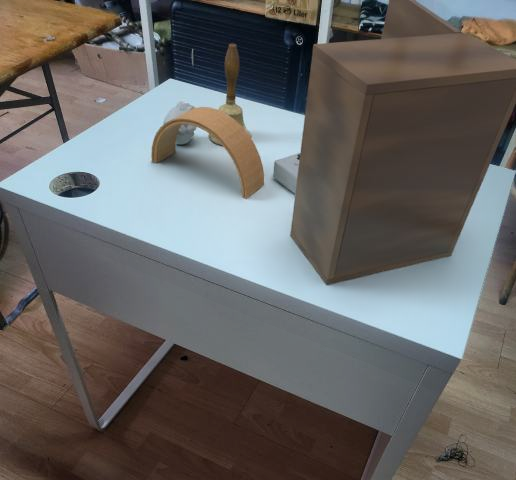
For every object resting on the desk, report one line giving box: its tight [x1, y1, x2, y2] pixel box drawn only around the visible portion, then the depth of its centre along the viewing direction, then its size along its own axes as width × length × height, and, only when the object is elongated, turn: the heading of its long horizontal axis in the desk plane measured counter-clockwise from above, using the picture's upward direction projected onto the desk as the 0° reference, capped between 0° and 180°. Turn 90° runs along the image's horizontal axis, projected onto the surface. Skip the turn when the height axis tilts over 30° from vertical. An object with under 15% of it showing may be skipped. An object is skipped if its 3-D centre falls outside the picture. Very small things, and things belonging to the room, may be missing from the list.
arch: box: [150, 106, 265, 200], centre depth 83 cm, size 6×20×10 cm, turn 57°
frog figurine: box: [162, 101, 198, 145], centre depth 91 cm, size 6×7×7 cm
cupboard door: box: [380, 0, 463, 39], centre depth 79 cm, size 7×21×26 cm, turn 12°
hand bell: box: [208, 43, 253, 146], centre depth 90 cm, size 8×8×16 cm
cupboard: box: [289, 32, 516, 286], centre depth 65 cm, size 12×21×26 cm, turn 112°
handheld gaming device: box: [272, 152, 300, 195], centre depth 86 cm, size 9×15×4 cm, turn 125°
